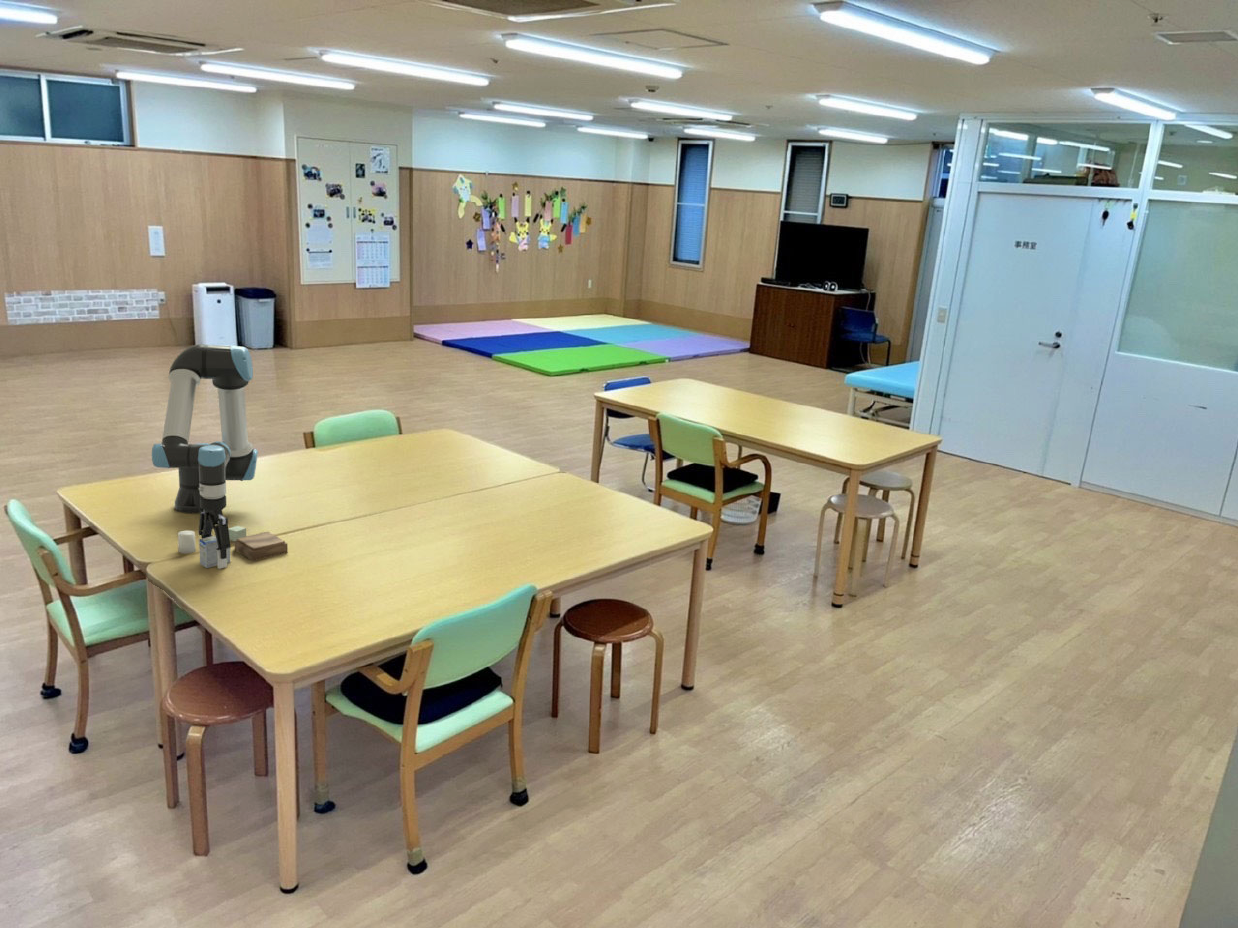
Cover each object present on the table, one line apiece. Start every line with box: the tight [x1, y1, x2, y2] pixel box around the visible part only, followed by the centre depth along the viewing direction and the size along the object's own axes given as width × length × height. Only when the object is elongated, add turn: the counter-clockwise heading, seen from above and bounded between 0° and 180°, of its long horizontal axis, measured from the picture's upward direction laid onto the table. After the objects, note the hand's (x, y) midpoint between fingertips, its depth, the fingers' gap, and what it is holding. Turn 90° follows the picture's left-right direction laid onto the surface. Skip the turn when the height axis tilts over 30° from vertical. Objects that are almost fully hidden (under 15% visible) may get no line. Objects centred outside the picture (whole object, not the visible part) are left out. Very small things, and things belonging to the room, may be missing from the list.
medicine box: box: [198, 534, 231, 569], centre depth 286 cm, size 8×4×9 cm, turn 141°
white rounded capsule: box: [177, 530, 196, 554], centre depth 294 cm, size 5×5×6 cm
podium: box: [234, 531, 289, 562], centre depth 299 cm, size 12×12×4 cm
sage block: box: [228, 525, 247, 543], centre depth 307 cm, size 4×4×4 cm
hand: (215, 562), depth 287 cm, fingers open, 9 cm apart
